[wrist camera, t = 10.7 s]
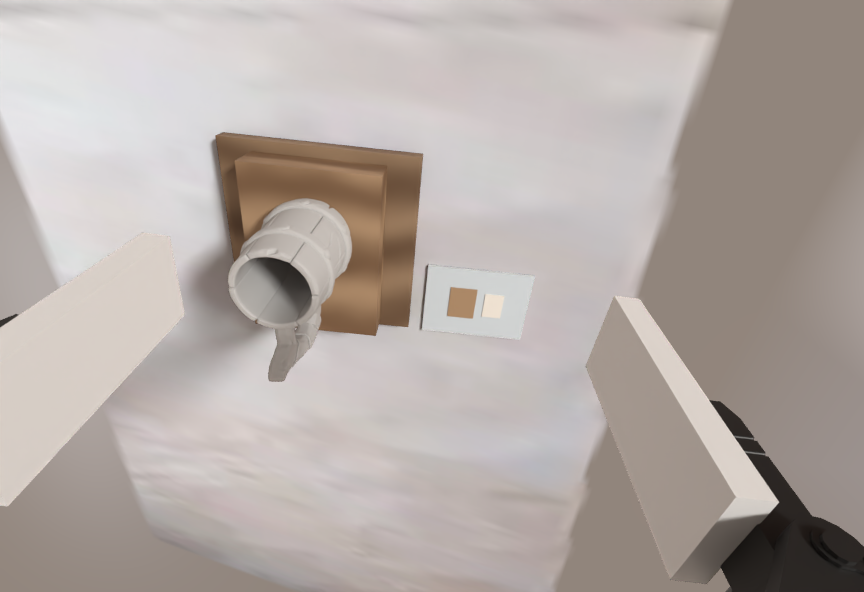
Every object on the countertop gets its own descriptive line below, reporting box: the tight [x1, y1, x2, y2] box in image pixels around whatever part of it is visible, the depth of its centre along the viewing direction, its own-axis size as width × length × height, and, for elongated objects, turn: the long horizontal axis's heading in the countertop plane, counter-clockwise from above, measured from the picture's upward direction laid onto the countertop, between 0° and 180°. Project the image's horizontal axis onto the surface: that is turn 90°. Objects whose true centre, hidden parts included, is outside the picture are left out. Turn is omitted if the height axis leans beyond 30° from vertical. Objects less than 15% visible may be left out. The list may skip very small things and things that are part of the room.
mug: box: [228, 198, 352, 382], centre depth 35 cm, size 8×12×12 cm, turn 179°
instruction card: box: [422, 264, 535, 340], centre depth 48 cm, size 8×11×1 cm
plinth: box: [216, 132, 423, 336], centre depth 42 cm, size 18×18×5 cm
